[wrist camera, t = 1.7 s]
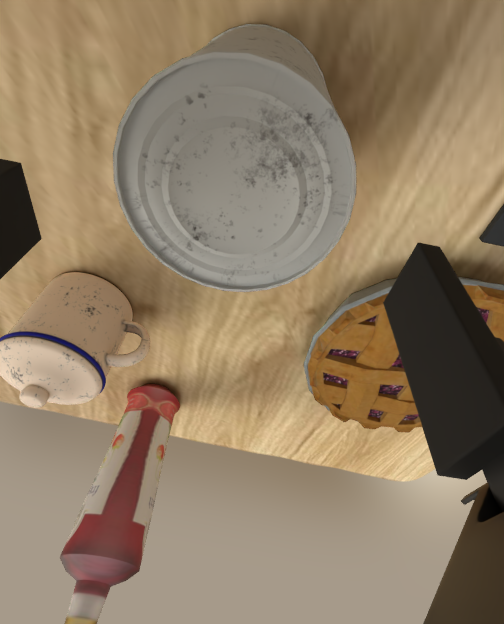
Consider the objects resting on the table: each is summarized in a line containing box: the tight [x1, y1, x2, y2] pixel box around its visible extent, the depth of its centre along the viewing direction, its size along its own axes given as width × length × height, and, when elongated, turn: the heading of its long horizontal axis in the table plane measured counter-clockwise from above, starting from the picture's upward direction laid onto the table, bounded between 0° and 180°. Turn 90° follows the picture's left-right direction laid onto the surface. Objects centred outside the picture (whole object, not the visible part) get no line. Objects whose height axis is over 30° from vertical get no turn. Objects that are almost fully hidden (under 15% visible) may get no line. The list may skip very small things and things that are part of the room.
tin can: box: [113, 24, 356, 292], centre depth 18 cm, size 10×10×12 cm
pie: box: [304, 277, 504, 432], centre depth 34 cm, size 22×22×5 cm
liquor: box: [60, 384, 180, 624], centre depth 36 cm, size 7×7×28 cm
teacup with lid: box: [0, 272, 150, 408], centre depth 31 cm, size 12×9×12 cm
